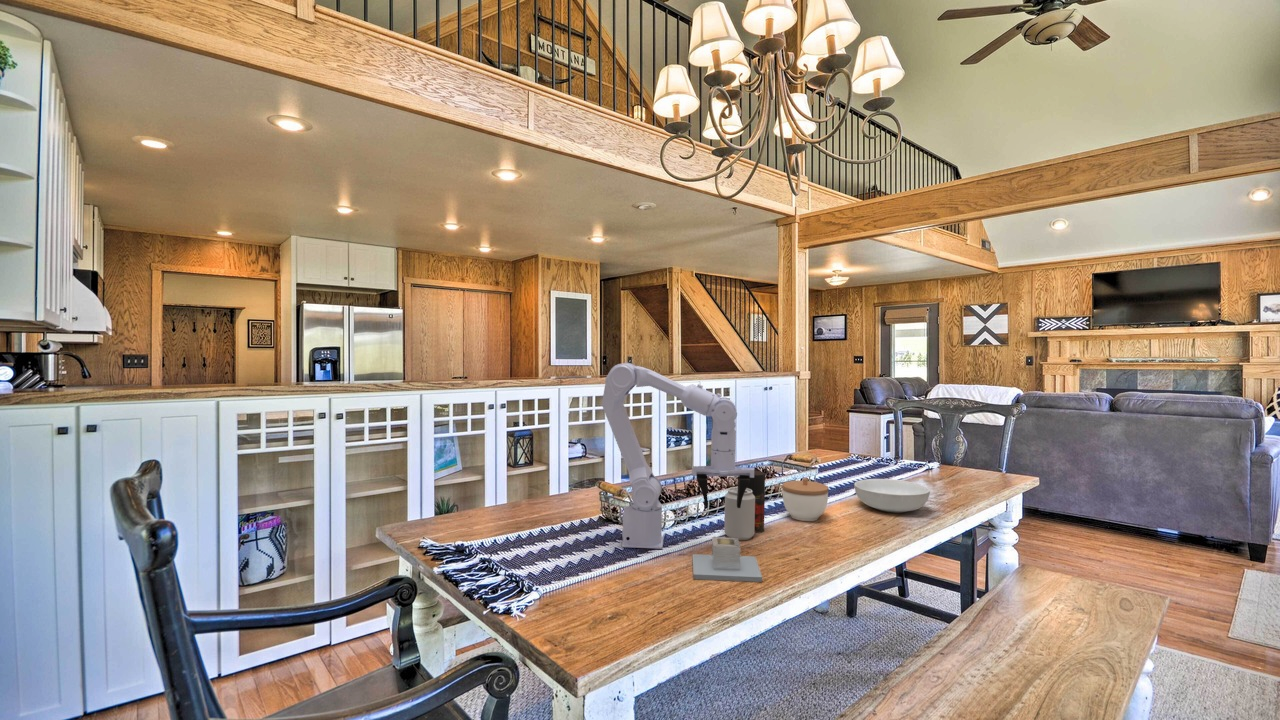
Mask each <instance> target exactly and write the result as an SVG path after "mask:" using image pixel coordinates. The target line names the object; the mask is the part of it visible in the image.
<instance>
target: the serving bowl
mask: <svg viewBox="0 0 1280 720" xmlns="http://www.w3.org/2000/svg"><path fill="white" fill-rule="evenodd" d="M853 487H854V492H855V494H856V496H857V498H858V499H859V500H860V501H861V503H863V504H865V506H868V507H871V508H874V509H876V510H879V511H882V512H887V513H899V514H900V513H905V512H912V511H917V510H918V509H921V508H922V507H923V506H925V505H926V503H927V502H928V501H929V499H930V498H929V497H930V494H931V489H930V488H929V487H927V486H925V485H923V484H920V483H917V482H913V481H907V480H902V479H901V480H900V479H892V478H891V479H889V478H869V479H868V478H867V479H860V480H857V481H855V482H854V484H853Z"/></svg>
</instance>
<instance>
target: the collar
mask: <svg viewBox="0 0 1280 720" xmlns="http://www.w3.org/2000/svg"><path fill="white" fill-rule="evenodd" d="M711 539H712V540H711V541H712V542H711V543H712V544H711V555H712V564H713V569H724V570H740V556H741V543H740V540H738V538H729V537H722V536H721V537H717V536H712V537H711Z"/></svg>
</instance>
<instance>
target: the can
mask: <svg viewBox="0 0 1280 720" xmlns="http://www.w3.org/2000/svg"><path fill="white" fill-rule="evenodd" d="M752 492H753V491H752V490H751V489H748V488H746V490H745V492H744V495H743V498H742V502H741V508H737V493H738V486H736V487H733V486H732V487H729V488H727V493H725V495H724V527H723V529H724V534H725V535H726V536H727V538H738V540H739V541H747V540H750V539H752V537H753V536H755V533H754V529H755V496H754V495H753V494H752Z"/></svg>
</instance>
